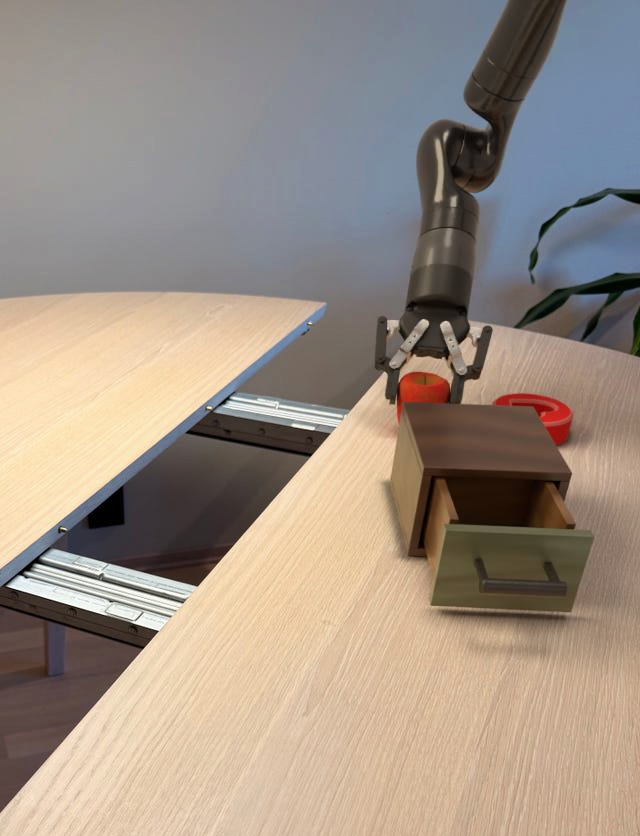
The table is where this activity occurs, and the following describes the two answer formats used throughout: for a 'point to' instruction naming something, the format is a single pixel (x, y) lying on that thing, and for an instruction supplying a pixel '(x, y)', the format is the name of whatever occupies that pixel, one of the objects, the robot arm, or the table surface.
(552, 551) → the drawer
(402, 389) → the apple
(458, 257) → the robot arm
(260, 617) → the table surface
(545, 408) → the decorative ornament
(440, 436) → the cabinet
